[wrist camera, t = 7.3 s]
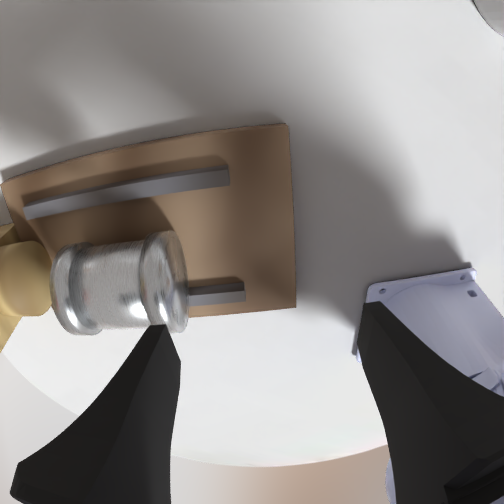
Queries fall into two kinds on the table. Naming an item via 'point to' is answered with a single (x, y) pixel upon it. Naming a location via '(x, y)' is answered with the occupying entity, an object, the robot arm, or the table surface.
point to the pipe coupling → (121, 285)
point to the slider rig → (162, 218)
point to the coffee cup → (492, 13)
